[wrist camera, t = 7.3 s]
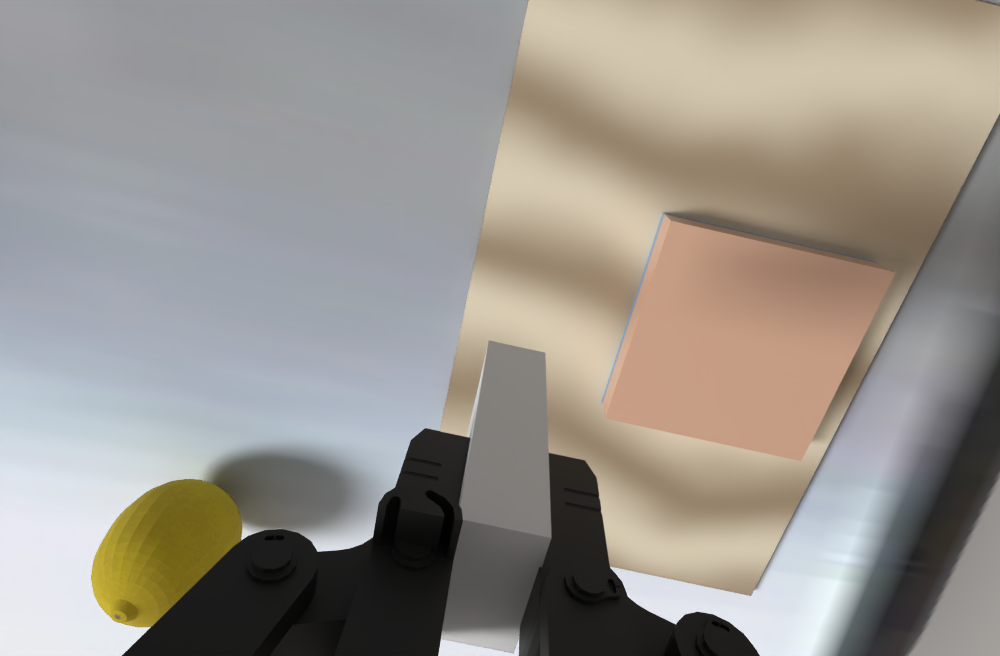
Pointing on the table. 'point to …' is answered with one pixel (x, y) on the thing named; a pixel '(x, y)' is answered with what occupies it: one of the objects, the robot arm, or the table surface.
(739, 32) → the board
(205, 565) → the lemon
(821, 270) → the tile
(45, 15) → the table surface
